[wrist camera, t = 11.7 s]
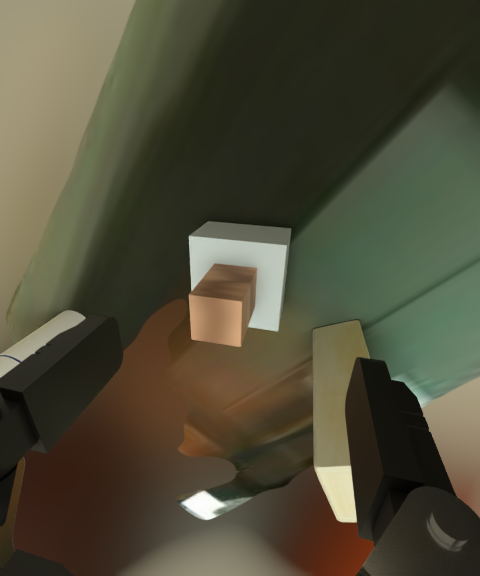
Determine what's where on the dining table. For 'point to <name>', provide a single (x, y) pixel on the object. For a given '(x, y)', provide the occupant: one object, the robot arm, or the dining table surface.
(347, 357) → the tall beige block
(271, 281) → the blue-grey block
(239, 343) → the terracotta block
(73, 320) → the cylindrical container
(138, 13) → the dining table surface
